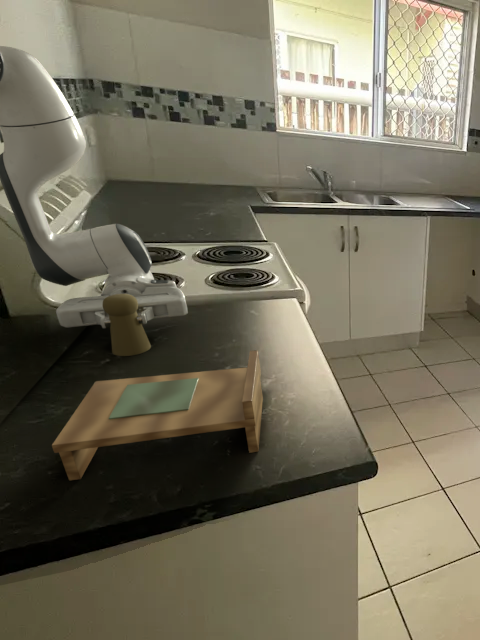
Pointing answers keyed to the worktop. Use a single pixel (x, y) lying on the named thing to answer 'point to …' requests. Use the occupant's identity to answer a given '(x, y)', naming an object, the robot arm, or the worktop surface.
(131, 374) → the worktop surface
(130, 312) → the cork
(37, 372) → the worktop surface
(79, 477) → the shelf
